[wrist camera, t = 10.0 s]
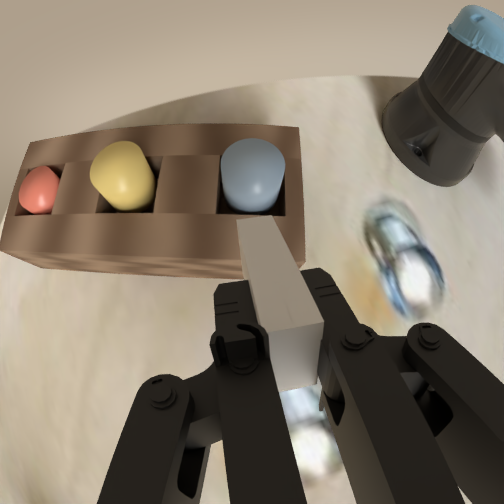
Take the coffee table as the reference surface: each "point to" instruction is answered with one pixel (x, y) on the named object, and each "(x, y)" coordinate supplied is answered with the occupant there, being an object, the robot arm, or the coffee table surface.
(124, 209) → the mustard button
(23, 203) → the red button
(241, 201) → the slate button
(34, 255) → the console
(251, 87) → the coffee table surface
